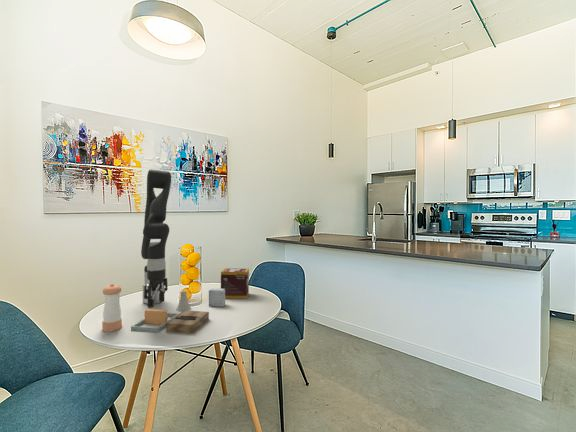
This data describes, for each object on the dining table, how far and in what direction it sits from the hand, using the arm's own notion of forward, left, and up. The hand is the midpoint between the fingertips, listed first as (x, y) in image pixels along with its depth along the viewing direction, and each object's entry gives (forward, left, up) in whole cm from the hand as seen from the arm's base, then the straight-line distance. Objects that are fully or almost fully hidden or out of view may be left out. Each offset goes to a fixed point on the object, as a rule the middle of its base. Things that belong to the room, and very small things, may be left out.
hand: (156, 304), depth 133 cm
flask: (+3, +19, -10) cm, 21 cm away
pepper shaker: (-17, -6, -10) cm, 20 cm away
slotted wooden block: (+15, 0, -9) cm, 18 cm away
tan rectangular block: (+5, 0, -6) cm, 7 cm away
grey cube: (+16, +31, -10) cm, 36 cm away
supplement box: (+20, +50, -10) cm, 55 cm away
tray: (0, 0, -9) cm, 9 cm away
